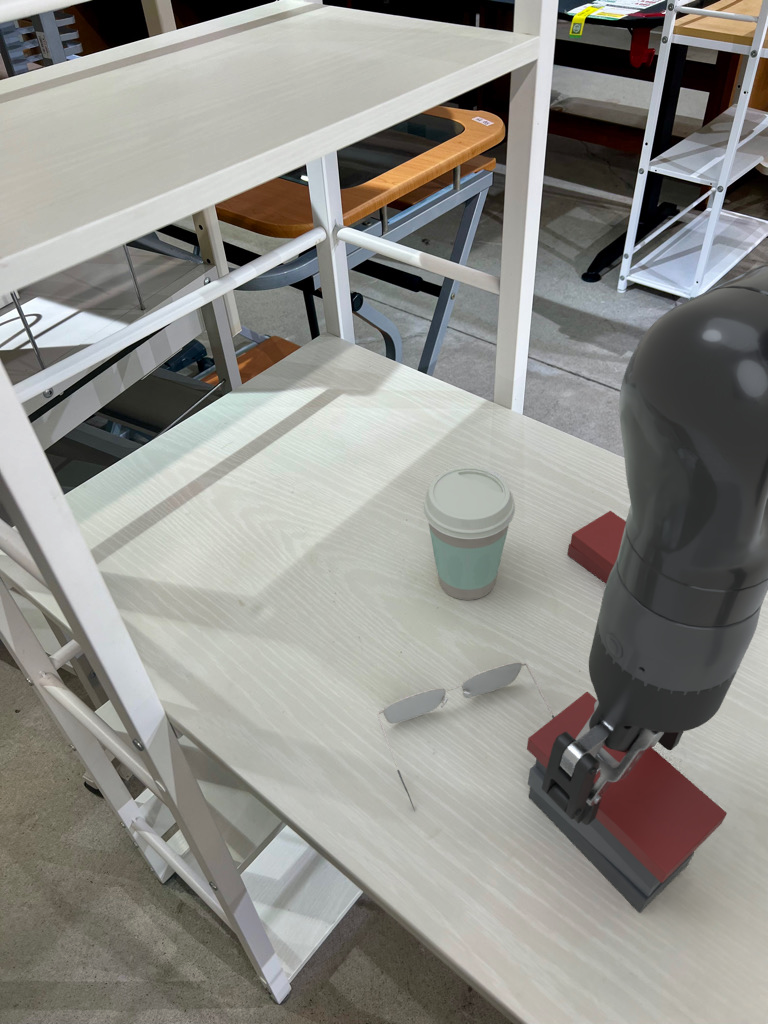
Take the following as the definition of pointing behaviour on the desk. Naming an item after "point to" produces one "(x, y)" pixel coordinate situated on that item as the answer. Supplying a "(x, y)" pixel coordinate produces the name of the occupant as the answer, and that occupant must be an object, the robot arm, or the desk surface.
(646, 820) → the thin oxblood book
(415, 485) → the desk surface
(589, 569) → the oxblood books
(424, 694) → the eyeglasses
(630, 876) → the grey books
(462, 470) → the coffee cup
